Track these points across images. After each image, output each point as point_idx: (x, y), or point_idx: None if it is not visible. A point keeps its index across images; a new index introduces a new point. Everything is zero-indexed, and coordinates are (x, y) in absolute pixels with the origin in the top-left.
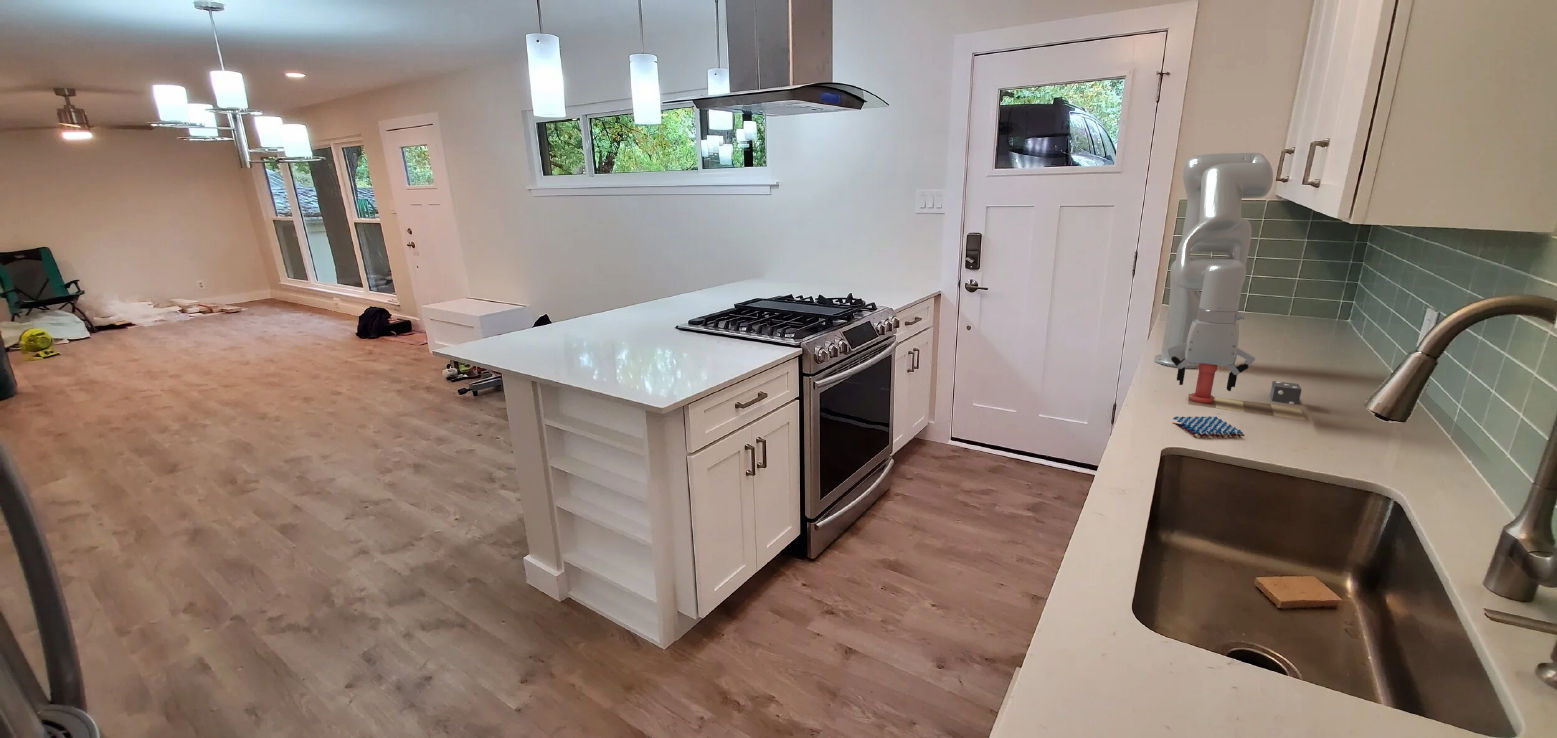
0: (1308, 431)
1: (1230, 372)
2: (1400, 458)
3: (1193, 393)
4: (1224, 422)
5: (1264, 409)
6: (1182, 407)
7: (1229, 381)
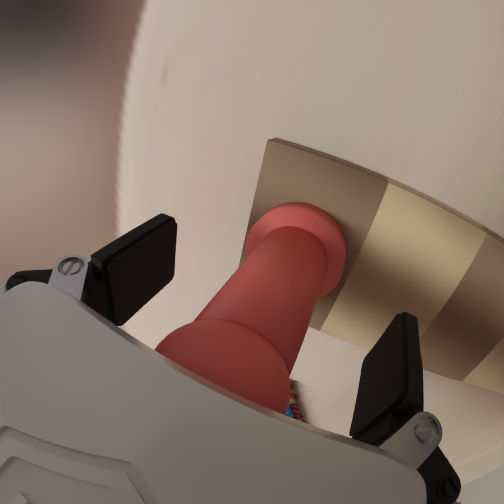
0: (472, 409)
1: (401, 402)
2: (483, 457)
3: (259, 224)
4: (287, 411)
5: (484, 335)
6: (228, 267)
7: (358, 404)
